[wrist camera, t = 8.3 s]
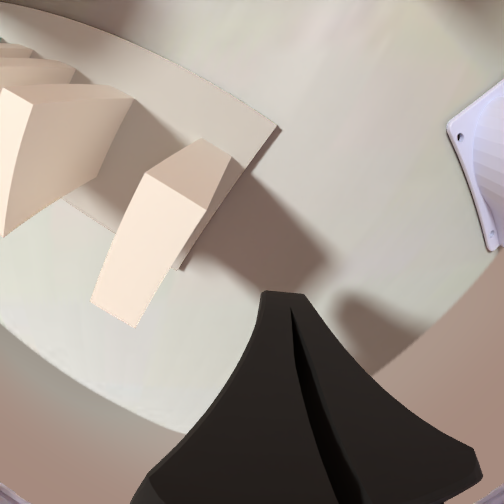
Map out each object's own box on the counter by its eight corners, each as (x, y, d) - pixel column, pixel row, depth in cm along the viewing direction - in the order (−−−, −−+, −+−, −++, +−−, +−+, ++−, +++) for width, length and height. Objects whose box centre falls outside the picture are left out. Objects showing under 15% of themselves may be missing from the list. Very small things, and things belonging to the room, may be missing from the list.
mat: (276, 124, 12) (277, 125, 12) (178, 268, 15) (176, 271, 15) (-3, 1, 6) (-6, 0, 6) (-46, 114, 10) (-48, 114, 9)
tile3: (76, 68, 10) (-30, 68, 4) (44, 144, 12) (-53, 184, 5) (57, 60, 9) (-45, 60, 3) (28, 133, 11) (-67, 168, 5)
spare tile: (231, 156, 12) (206, 210, 6) (183, 230, 14) (135, 328, 8) (201, 137, 12) (145, 172, 6) (156, 214, 14) (90, 301, 8)
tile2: (134, 98, 11) (33, 104, 5) (96, 176, 13) (3, 237, 7) (109, 85, 11) (2, 86, 4) (74, 162, 12) (-23, 214, 6)
